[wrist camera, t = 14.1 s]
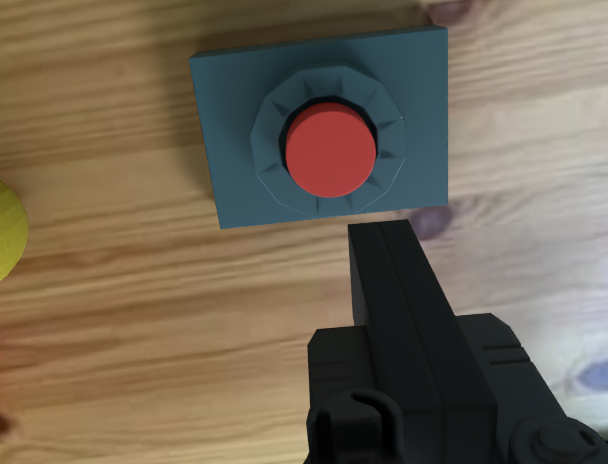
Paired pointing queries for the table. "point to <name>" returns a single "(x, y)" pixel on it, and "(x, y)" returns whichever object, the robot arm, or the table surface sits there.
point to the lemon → (11, 229)
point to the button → (329, 150)
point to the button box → (317, 89)
